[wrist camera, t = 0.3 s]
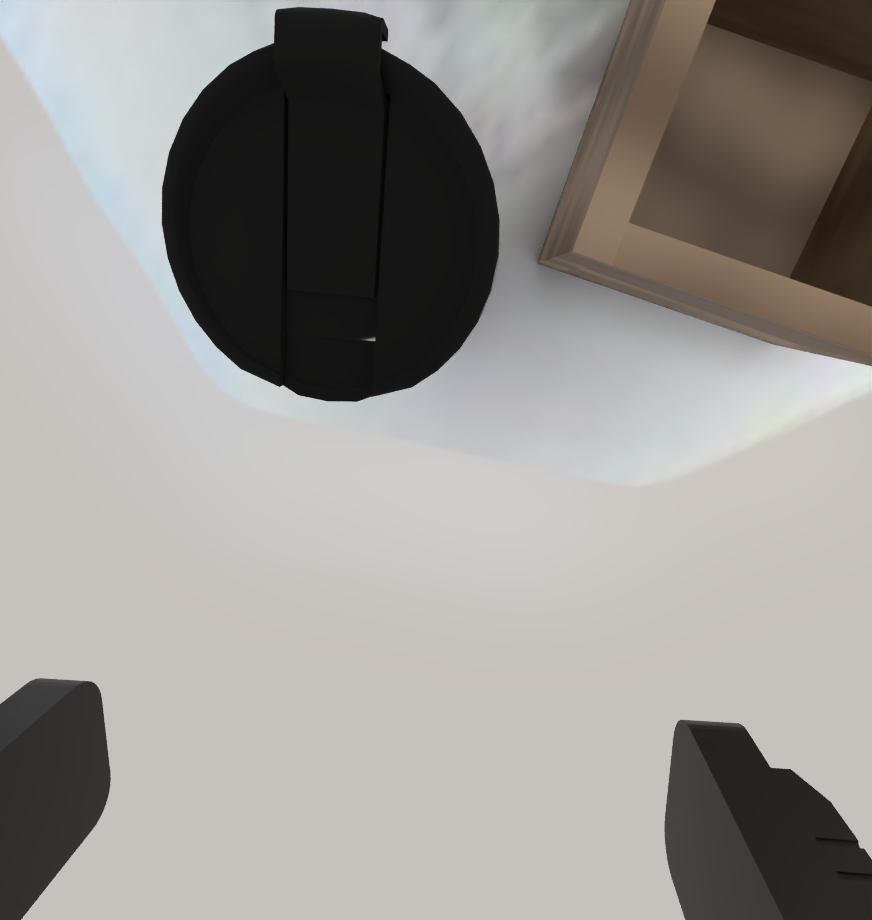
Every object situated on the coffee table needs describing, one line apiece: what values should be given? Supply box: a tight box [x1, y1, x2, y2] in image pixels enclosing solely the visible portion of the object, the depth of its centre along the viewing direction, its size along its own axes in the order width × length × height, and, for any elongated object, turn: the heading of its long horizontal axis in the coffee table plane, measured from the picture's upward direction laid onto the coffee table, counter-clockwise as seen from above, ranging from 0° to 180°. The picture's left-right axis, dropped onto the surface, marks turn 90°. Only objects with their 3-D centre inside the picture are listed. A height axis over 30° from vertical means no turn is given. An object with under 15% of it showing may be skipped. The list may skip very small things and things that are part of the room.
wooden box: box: [537, 0, 872, 366], centre depth 22 cm, size 12×12×12 cm
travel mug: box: [162, 7, 499, 402], centre depth 20 cm, size 6×7×20 cm
